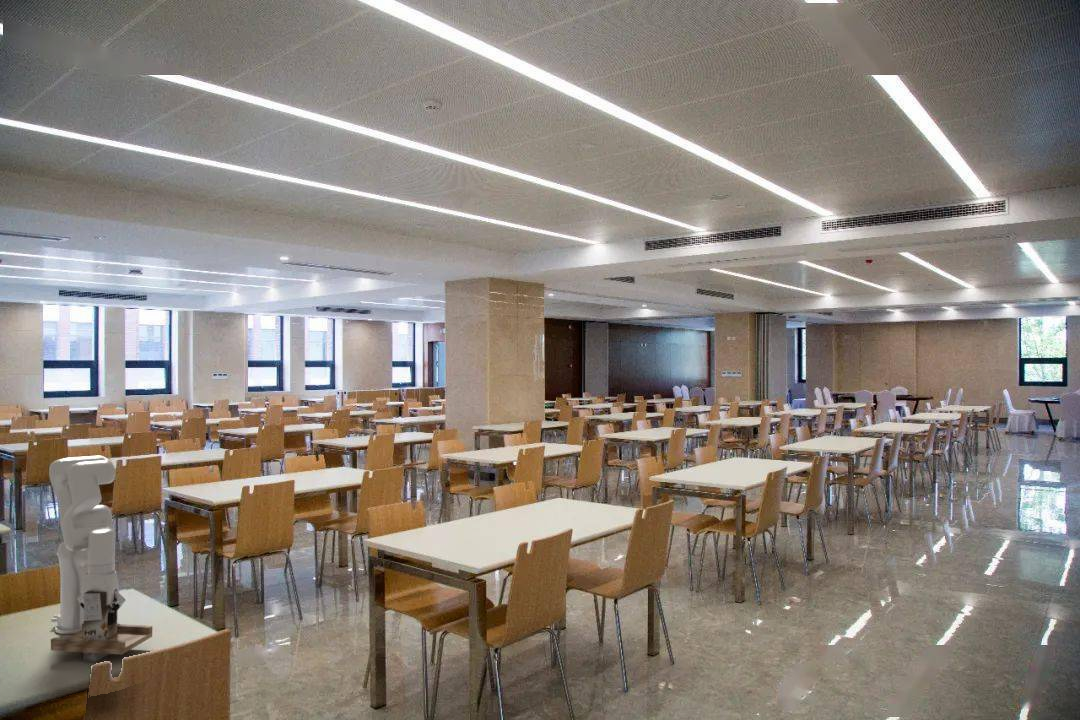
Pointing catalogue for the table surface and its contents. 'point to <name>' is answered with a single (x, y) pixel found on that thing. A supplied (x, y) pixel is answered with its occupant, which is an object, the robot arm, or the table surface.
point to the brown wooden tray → (103, 642)
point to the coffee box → (97, 617)
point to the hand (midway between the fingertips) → (101, 622)
